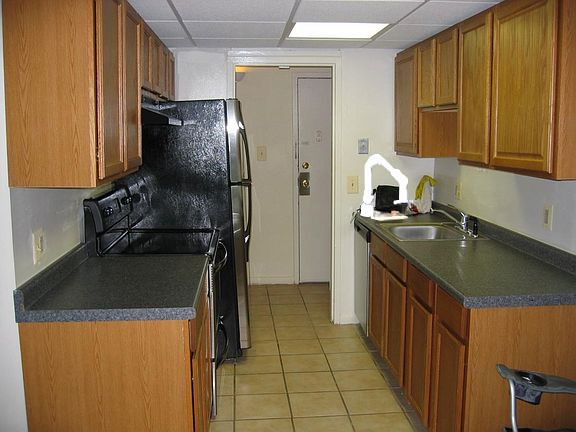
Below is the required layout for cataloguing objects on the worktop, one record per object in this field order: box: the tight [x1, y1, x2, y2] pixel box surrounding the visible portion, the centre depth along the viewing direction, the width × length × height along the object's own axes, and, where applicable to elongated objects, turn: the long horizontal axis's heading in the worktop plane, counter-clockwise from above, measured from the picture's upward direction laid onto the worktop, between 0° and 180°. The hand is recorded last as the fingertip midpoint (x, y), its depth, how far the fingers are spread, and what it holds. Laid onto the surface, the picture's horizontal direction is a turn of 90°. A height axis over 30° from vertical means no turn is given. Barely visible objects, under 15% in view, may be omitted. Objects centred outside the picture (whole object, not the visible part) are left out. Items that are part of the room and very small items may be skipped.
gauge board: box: [370, 210, 409, 222], centre depth 437 cm, size 13×22×5 cm, turn 113°
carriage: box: [391, 210, 403, 215], centre depth 439 cm, size 10×3×3 cm, turn 23°
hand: (403, 213), depth 444 cm, fingers closed
